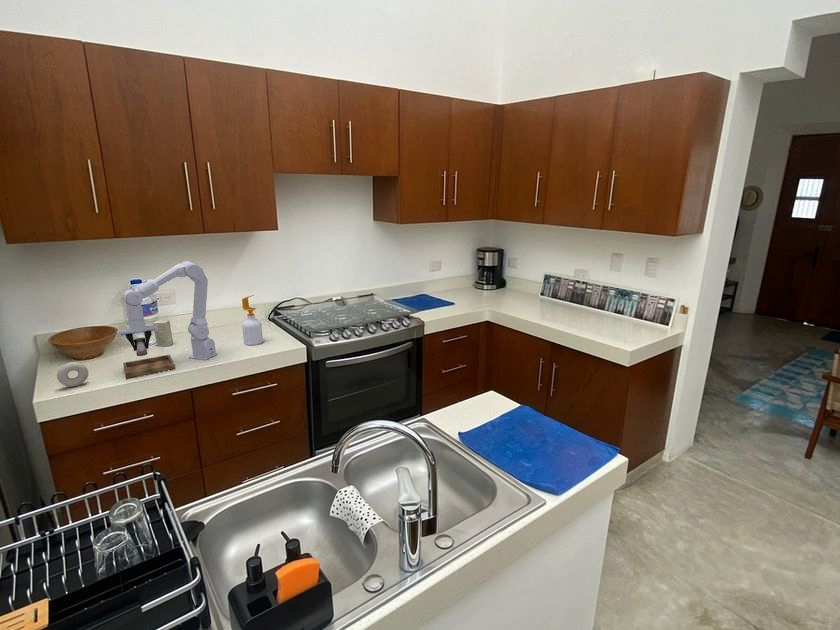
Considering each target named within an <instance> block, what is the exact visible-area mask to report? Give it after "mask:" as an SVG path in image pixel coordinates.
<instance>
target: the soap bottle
mask: <svg viewBox="0 0 840 630" xmlns="http://www.w3.org/2000/svg"><path fill="white" fill-rule="evenodd" d="M251 297H254V294H252V295H249V296H246V297H243V298H242V300H241V303H242V309H243V311H247V312H248V313H247V319H245V320H244V321H243V322H242V325H241V326H242V327H241V328H242V334H243V335H242V337H243V344H244V345H246V346H256V345H259V344H262V343H263V342H264V338H263V327H262V325H263V324H262V322H261V320H260V319H258V318H255V317H256V315H255V313H253V312H254V311H255V310H256V309H257V308H256V307H250V305H249V304H250V303H249V298H251Z"/></svg>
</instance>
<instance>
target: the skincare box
mask: <svg viewBox="0 0 840 630" xmlns="http://www.w3.org/2000/svg"><path fill="white" fill-rule="evenodd" d="M155 325H157V326H158V331H153V332H154V337H155V343H156V346H157V347H170V346H172V345H173V344H174V341H173V340H174V339H173V335H172V328H171V322H170V320H156V321H153V323H152V326H155Z"/></svg>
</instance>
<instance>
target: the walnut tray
mask: <svg viewBox="0 0 840 630" xmlns="http://www.w3.org/2000/svg"><path fill="white" fill-rule="evenodd" d="M122 364H123V372H124V375H125V379H126V380H128V379H129V378H130V379H134V377H135V378H138V377H139V376H140V377H144V375H145V376H149V374H150V375H154V373H155V374H158V372H160V373H164V372H163V371H165V372H169V371H168V370H170V371H174V370H173V369H175V370H176V366H175V365H176V364H175V363H174V360H173V359H172V356H171V354H164V355H159V356H154V357H148V358H142V359H136V360H131V361H126V362H123V363H122ZM130 379H129V380H130Z"/></svg>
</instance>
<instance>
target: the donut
mask: <svg viewBox="0 0 840 630" xmlns="http://www.w3.org/2000/svg"><path fill="white" fill-rule="evenodd" d="M73 371H75V372H77V376H75V377H70V376H69V373H70V372H73ZM88 377H89V369H88V367H87V366H86V365H85V364H83V363H81V362H77V361H69V362H68V363H65V364H63V365H62V366H60V367H59V369H58V370H57V373H56V379H57V380H58V382H59V383H60V384H61V385H63V386H65V387H68V388H69V387H78V386H81V385H82V384H83V383H85V382H86V380H87V379H88Z"/></svg>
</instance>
